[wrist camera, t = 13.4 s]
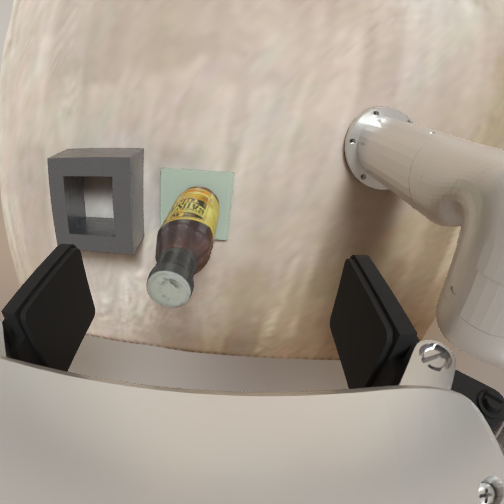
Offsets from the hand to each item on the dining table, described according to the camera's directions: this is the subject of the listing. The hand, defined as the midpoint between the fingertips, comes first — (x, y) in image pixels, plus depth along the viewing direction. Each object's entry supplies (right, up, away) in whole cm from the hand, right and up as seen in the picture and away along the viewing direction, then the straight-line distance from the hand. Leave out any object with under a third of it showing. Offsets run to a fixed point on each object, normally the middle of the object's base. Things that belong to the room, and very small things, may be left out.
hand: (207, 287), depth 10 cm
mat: (-7, +8, +33) cm, 35 cm away
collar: (-20, +10, +31) cm, 39 cm away
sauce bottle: (-6, +8, +33) cm, 34 cm away
